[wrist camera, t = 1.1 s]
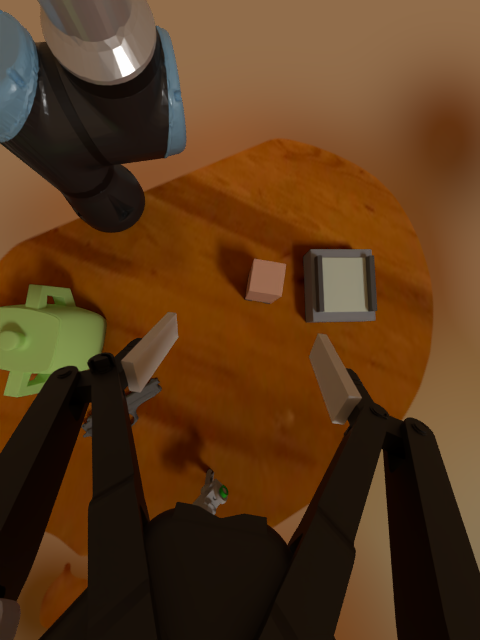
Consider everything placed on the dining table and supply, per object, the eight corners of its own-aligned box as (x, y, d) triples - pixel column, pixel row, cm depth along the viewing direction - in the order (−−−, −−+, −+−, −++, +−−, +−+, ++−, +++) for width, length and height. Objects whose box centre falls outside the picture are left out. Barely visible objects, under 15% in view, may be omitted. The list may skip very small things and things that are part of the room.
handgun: (100, 475, 37) (72, 423, 37) (107, 466, 40) (81, 418, 40) (180, 425, 39) (154, 377, 40) (183, 420, 42) (157, 374, 42)
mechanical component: (230, 459, 41) (231, 501, 31) (198, 495, 40) (188, 550, 30) (221, 450, 41) (218, 489, 31) (189, 486, 40) (175, 538, 30)
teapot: (14, 374, 39) (-92, 397, 26) (34, 284, 41) (-57, 263, 28) (101, 386, 40) (39, 414, 27) (118, 298, 41) (67, 283, 28)
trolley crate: (269, 303, 43) (281, 296, 33) (244, 299, 43) (249, 290, 33) (273, 279, 44) (286, 264, 34) (248, 275, 43) (254, 258, 33)
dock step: (303, 256, 44) (313, 246, 39) (358, 256, 45) (376, 246, 40) (305, 322, 43) (316, 321, 38) (362, 321, 44) (381, 320, 39)
